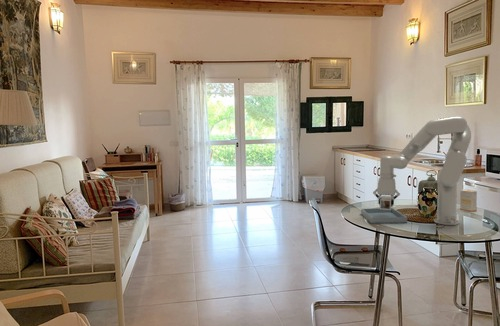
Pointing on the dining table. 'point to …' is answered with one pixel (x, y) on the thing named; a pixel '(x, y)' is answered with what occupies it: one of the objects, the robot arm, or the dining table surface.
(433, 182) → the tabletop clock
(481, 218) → the dining table surface
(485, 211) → the dining table surface
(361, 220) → the dining table surface
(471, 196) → the supplement box
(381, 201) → the silver metal block
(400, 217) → the tray
